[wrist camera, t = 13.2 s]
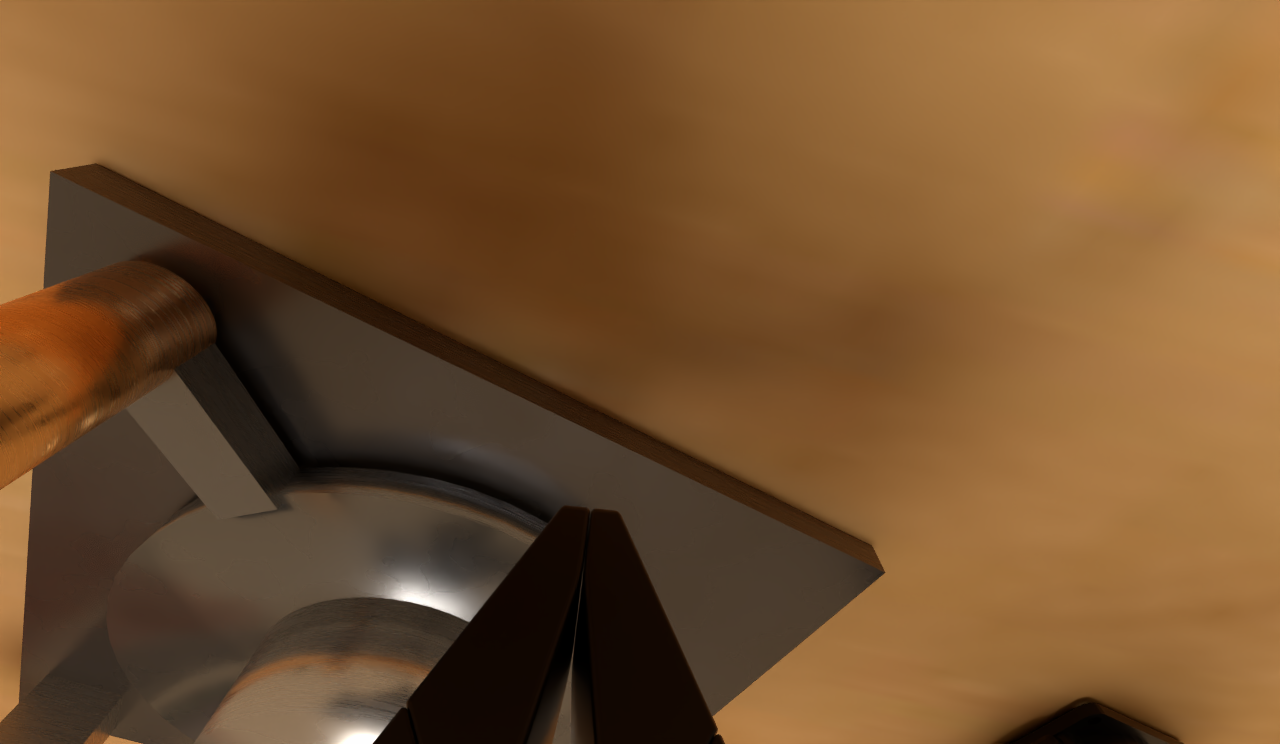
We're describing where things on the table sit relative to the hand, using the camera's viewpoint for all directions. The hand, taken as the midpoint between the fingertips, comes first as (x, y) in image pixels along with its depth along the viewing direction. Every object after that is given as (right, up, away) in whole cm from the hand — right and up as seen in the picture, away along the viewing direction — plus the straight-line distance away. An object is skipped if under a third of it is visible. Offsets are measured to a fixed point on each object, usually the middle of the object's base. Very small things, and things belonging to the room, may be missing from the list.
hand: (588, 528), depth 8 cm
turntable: (-8, -5, +8) cm, 12 cm away
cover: (-7, -7, +9) cm, 13 cm away
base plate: (-7, -6, +11) cm, 14 cm away
